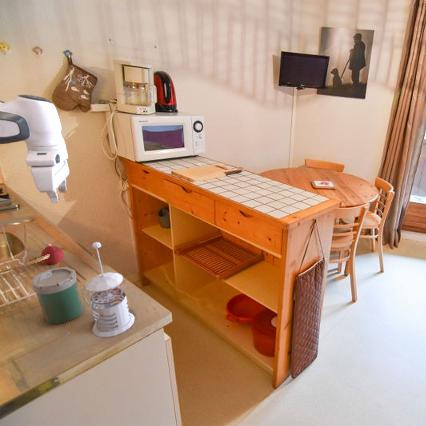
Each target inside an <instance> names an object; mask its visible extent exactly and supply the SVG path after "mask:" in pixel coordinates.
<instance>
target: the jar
mask: <svg viewBox="0 0 426 426" xmlns="http://www.w3.org/2000/svg"><path fill="white" fill-rule="evenodd" d="M77 280H78V278H77V273H76V270H75V269H74V268H71V267H68V266H67V267H66V266H63V267H55V268H51V269H46V270H44V271H42V272H40V273H37V274H36V275H35V276H33V278H32V279H31V282H30V284H31V287H32V290H33V292H34V293H35V294H36V297H37V300H38V303H39V305H40V309H41V312H42V315H43V318H44V321H45V322H46V323H47V324H49V325H60V324H66V323H68V322H70V321H73V320H74V319H76V318H78V317H79V316H81V314H82V313H83V311H84V306H83V302H82V298H81V294H80V290H79V285H78V283H77Z"/></svg>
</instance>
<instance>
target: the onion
mask: <svg viewBox="0 0 426 426" xmlns="http://www.w3.org/2000/svg"><path fill="white" fill-rule="evenodd" d="M47 254H50V257H49V258H48V259H45V260H42V261H43V262H44V264H45V263H46V264H49V265H57V264H59V263H60V262H61V261H62V260H63V259H64V257H65V254H64V250H63V249H62V248H61V247H59V246H57V245H53V244H50V243H47V244H46V247H44V248H43V250H42V251H41V254H40V258H41V257H42V256H45V255H47Z"/></svg>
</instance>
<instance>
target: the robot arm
mask: <svg viewBox="0 0 426 426" xmlns="http://www.w3.org/2000/svg"><path fill="white" fill-rule="evenodd" d="M62 129H63V127H62V123H61V120H60V116H59V113H58V110H57V108H56V106H55V104H54V103H53V102H52V100H49V98H48V99H47V98H45V97H41V96H37V95H32V94H31V95H30V94H18V95H16V96H15V97H14V98H12V99H10V100H8V101H3V100H0V145H8V144H13V143H18V142H24V143H25V144H26V148H27V155H26V158H25V162H26V166H27V167H30V172H31V177H32V179H33V181H34V185H35V187H36V189H37V190H38V192H39V193H46V195H47V196H48V197H49V201H50V203H52V204H57V203H59V201H60V196H59V195H58V193H60V194H64V193H66V192H68V188H67V178H68V176H69V175H70V167H69V164H68V159H69V155H68V149H67V144H66V141H65V139H64V138H63V134H62ZM57 189H58V191H57ZM57 192H58V193H57Z"/></svg>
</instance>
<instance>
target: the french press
mask: <svg viewBox="0 0 426 426" xmlns="http://www.w3.org/2000/svg"><path fill="white" fill-rule="evenodd" d="M101 247H102V244H101V242H99V241H95V242H93V243H92V244H91V248H92V249H95V250H96V253H97V257H98V261H99V266H100V270H101V273H99V274H97V275H95V276H93V277H91V278H90V279H88V280H87V281H86V282H85V285H84V286H83V288H82V296H83V299H84V300H85V302H86V304H87V305H89V307H90V309H91V311H92V316H93V319H94V324H93V325H92V329H91V331H92V333H93V335H94V336H97V337H98V338H110V337H115V336H118V335H120V334H122V333H124V332H125V331H127V330H129V329H130V328H131V327H132V326H133V324H135V320H136V319H135V315H134V314H133V313H131V312H130V310H129V304H128V298H127V294H126V293H125V292H124V289H123V288H122V287H120V285H121V284H122V283H123V280H124V277H123V275H122V274H121V273H118V272H110V271H108V272H104V271H103V266H102V261H101V258H100V253H99V248H101ZM85 289H86V290H87V291H88V295H89V296H90V302H89V301H88V300H87V298H86V296H85ZM91 292H92V293H93V294H92V293H91ZM98 305H99V308H98Z"/></svg>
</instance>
